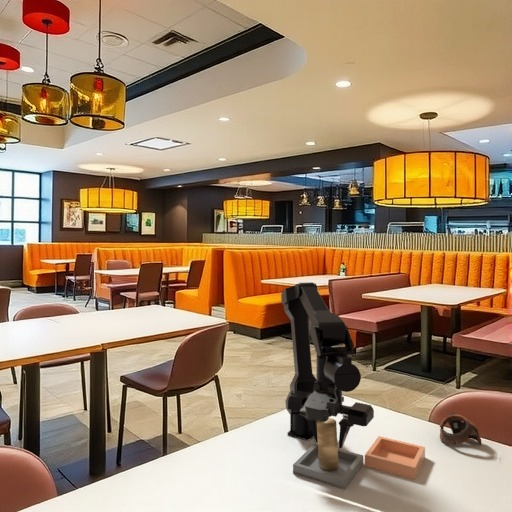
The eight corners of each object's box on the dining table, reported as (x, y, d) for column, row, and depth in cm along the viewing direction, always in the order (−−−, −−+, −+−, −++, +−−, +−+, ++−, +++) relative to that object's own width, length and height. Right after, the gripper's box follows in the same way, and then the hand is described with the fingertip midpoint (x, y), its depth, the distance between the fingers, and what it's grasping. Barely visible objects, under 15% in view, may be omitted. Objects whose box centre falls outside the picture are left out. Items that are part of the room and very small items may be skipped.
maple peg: (315, 468, 99) (313, 423, 99) (323, 459, 103) (321, 416, 103) (334, 472, 97) (331, 426, 97) (341, 463, 100) (339, 419, 100)
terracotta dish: (364, 467, 101) (364, 454, 101) (378, 447, 110) (378, 436, 110) (414, 481, 95) (415, 467, 95) (424, 459, 105) (425, 446, 105)
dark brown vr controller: (491, 454, 108) (480, 429, 106) (454, 468, 110) (442, 443, 108) (470, 422, 119) (460, 398, 117) (437, 435, 121) (426, 412, 119)
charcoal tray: (293, 475, 98) (293, 464, 98) (315, 452, 108) (315, 442, 108) (344, 491, 92) (345, 480, 91) (363, 466, 102) (363, 455, 102)
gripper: (275, 379, 97) (275, 449, 98) (358, 395, 87) (357, 472, 88) (297, 366, 106) (297, 430, 107) (374, 379, 97) (374, 449, 97)
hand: (328, 444), depth 100 cm, fingers open, 5 cm apart
